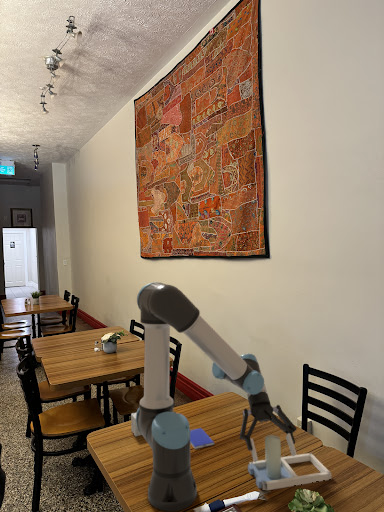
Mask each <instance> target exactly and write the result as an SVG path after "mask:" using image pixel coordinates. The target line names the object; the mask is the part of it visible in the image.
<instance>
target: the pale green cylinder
mask: <svg viewBox="0 0 384 512" xmlns="http://www.w3.org/2000/svg"><path fill="white" fill-rule="evenodd" d="M264 451H265V452H264V455H265V459H264V460H266V476H267V477H268V478H270V479H279V478H280V477H281V457H282V454H281V453H282V451H281V437H279V436H278V435H274V434H268V435H266V436H265V437H264Z"/></svg>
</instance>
